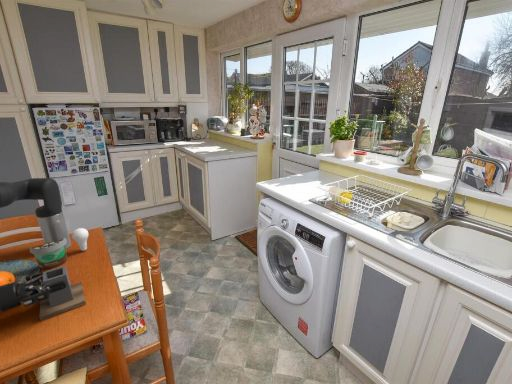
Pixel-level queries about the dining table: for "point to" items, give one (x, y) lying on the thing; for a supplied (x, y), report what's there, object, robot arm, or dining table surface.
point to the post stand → (77, 301)
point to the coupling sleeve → (55, 278)
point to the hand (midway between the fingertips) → (64, 278)
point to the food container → (50, 254)
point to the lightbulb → (81, 238)
